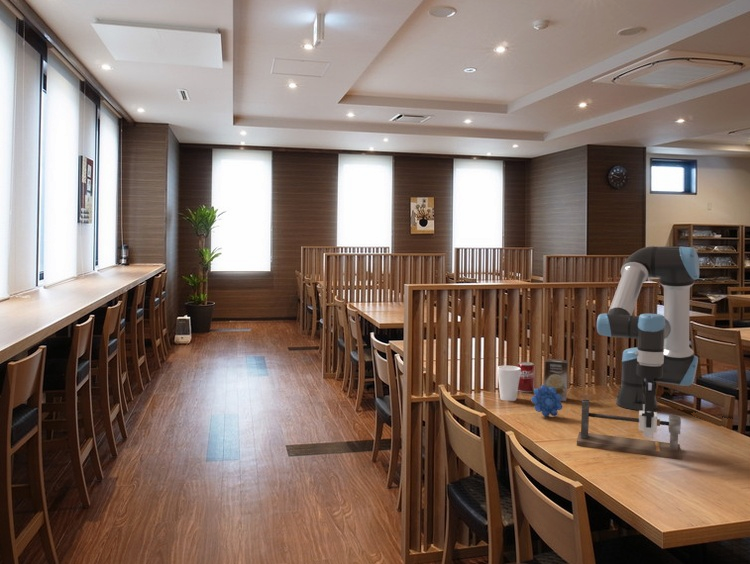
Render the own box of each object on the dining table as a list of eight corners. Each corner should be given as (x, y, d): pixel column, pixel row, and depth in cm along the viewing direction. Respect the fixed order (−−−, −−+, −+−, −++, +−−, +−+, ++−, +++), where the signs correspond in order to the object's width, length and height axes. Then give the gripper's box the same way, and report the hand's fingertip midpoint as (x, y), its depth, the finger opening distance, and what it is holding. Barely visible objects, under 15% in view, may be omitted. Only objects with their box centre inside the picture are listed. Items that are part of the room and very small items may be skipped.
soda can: (534, 393, 258) (535, 365, 258) (517, 392, 260) (517, 364, 259) (533, 389, 266) (534, 362, 265) (516, 388, 267) (517, 361, 266)
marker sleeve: (638, 430, 187) (639, 414, 186) (638, 425, 191) (639, 410, 191) (656, 432, 185) (657, 416, 184) (655, 428, 189) (656, 412, 189)
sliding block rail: (576, 445, 192) (578, 403, 191) (579, 436, 201) (580, 396, 200) (681, 459, 180) (683, 415, 179) (679, 448, 189) (681, 406, 188)
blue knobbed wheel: (534, 419, 219) (535, 387, 218) (529, 414, 226) (529, 383, 225) (565, 420, 219) (566, 387, 219) (559, 414, 226) (560, 383, 225)
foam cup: (494, 396, 253) (494, 365, 252) (515, 395, 253) (516, 365, 253) (500, 402, 243) (501, 370, 242) (522, 401, 244) (523, 370, 243)
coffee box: (543, 399, 248) (544, 361, 247) (544, 395, 254) (545, 358, 253) (566, 401, 245) (567, 362, 244) (566, 397, 251) (568, 359, 250)
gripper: (636, 355, 200) (634, 418, 201) (637, 370, 177) (634, 441, 178) (661, 357, 197) (658, 421, 198) (665, 372, 174) (662, 444, 175)
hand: (647, 430), depth 188 cm, fingers open, 13 cm apart
